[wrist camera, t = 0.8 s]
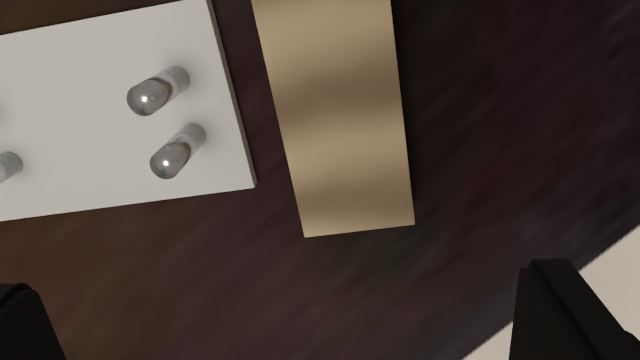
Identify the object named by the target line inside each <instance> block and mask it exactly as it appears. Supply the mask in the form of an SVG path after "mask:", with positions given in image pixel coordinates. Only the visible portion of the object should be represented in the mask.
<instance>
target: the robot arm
mask: <svg viewBox="0 0 640 360" xmlns="http://www.w3.org/2000/svg"><path fill="white" fill-rule="evenodd" d="M0 360H66V358H65V355H64V353H63V351H62V348H61V346H60V344H59V341H58V339H57V336H56V334H55V332H54V329H53V327H52V324H51V322H50V320H49V317H48V315H47V312H46V310H45V308H44V305H43V303H42V300H41V298H40V296H39V294H38V292H36V291H35V290H32V288H31V287H30V286H29V285H28V284H26V283H3V284H0ZM509 360H640V341H639V340H638V339H637V338H636V337H635V336H634V335H633V334H631V333H629V332H627V331H625V330H624V329H623V328H622V327H621V326H620V324H619V323H618V322H617V320H616V319H615V318H614V317H613V316H612V314H611V313H610V312H609V311H608V309H607V308H606V307H605V305H604V304H603V303H602V301H601V300H600V299H599V298H598V297H597V295H596V294H595V293H594V291H593V290H592V289H591V288H590V286H589V285H588V284H587V283H586V281H585V280H584V279H583V278H582V276H581V275H580V274H579V272H578V271H577V270H576V269H575V267H574V266H573V265H572V264H571V262H570V261H569V260H567V259H565V258H552V259H533V260H531V262H530V263H529V267H528V268H521V270H520V272H519V279H518V287H517V295H516V304H515V312H514V320H513V328H512V338H511V345H510V354H509Z"/></svg>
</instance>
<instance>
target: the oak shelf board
mask: <svg viewBox="0 0 640 360" xmlns="http://www.w3.org/2000/svg"><path fill="white" fill-rule="evenodd" d="M251 2H252V6H253V11H254V15H255V20H256V24H257V28H258V33H259V37H260V42H261V46H262V51H263V55H264V59H265V64H266V68H267V73H268V77H269V81H270V86H271V90H272V95H273V99H274V104H275V108H276V112H277V117H278V121H279V126H280V130H281V134H282V139H283V143H284V148H285V152H286V157H287V161H288V165H289V170H290V174H291V179H292V183H293V187H294V192H295V196H296V201H297V205H298V210H299V214H300V218H301V223H302V227H303V232H304V236H305V237H313V236H321V235H330V234H338V233H347V232H355V231H363V230H372V229H380V228H389V227H397V226H405V225H414V224H415V221H414V212H413V203H412V193H411V184H410V175H409V166H408V157H407V148H406V139H405V130H404V121H403V112H402V103H401V94H400V84H399V75H398V66H397V57H396V48H395V39H394V30H393V21H392V12H391V3H390V0H251Z"/></svg>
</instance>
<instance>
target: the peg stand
mask: <svg viewBox="0 0 640 360" xmlns="http://www.w3.org/2000/svg"><path fill="white" fill-rule="evenodd" d="M256 183H257V178H256V174H255V170H254V167H253V163H252V159H251V155H250V151H249V147H248V143H247V139H246V135H245V131H244V127H243V123H242V119H241V115H240V111H239V108H238V104H237V100H236V96H235V92H234V88H233V84H232V80H231V76H230V72H229V68H228V64H227V60H226V56H225V53H224V49H223V45H222V41H221V37H220V33H219V29H218V25H217V21H216V17H215V13H214V9H213V5H212V1H211V0H183V1H177V2H172V3H167V4H162V5H157V6H151V7H146V8H141V9H136V10H131V11H125V12H120V13H115V14H110V15H104V16H99V17H94V18H89V19H84V20H78V21H73V22H68V23H63V24H58V25H52V26H47V27H42V28H37V29H32V30H26V31H21V32H16V33H11V34H6V35H0V221H5V220H13V219H21V218H28V217H36V216H43V215H51V214H59V213H66V212H74V211H81V210H89V209H97V208H104V207H112V206H119V205H127V204H135V203H142V202H150V201H158V200H165V199H173V198H180V197H188V196H196V195H203V194H211V193H218V192H226V191H234V190H241V189H249V188H255V185H256Z"/></svg>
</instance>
